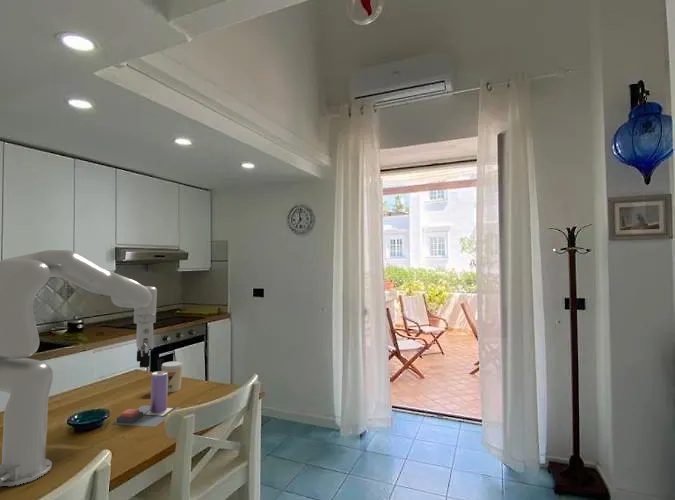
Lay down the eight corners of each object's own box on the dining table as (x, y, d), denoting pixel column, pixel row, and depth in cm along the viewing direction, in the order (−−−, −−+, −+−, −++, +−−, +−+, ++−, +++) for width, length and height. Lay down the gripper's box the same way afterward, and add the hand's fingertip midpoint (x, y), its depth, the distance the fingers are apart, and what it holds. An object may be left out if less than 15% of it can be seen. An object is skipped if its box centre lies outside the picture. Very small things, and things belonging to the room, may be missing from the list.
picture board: (154, 429, 134) (155, 421, 134) (112, 426, 136) (113, 418, 136) (180, 409, 152) (180, 402, 152) (142, 407, 154) (143, 400, 154)
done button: (131, 419, 138) (132, 413, 138) (121, 418, 138) (121, 413, 138) (138, 414, 142) (139, 409, 142) (128, 414, 142) (128, 408, 142)
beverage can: (160, 415, 144) (161, 375, 144) (146, 413, 145) (148, 374, 146) (170, 409, 150) (171, 371, 150) (156, 408, 151) (158, 370, 151)
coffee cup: (155, 391, 172) (156, 365, 173) (170, 385, 181) (171, 360, 182) (172, 394, 170) (173, 367, 170) (186, 387, 179) (187, 362, 179)
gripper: (159, 321, 139) (157, 368, 138) (152, 315, 153) (150, 357, 153) (136, 322, 135) (134, 370, 134) (131, 316, 149) (129, 360, 148)
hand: (142, 363), depth 143 cm, fingers open, 9 cm apart
